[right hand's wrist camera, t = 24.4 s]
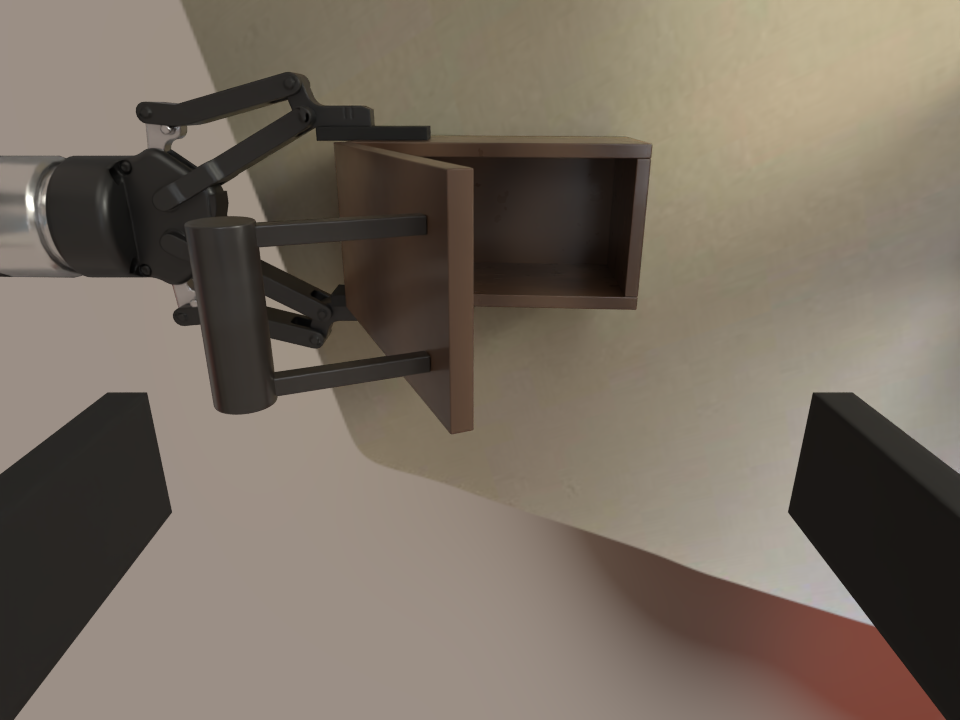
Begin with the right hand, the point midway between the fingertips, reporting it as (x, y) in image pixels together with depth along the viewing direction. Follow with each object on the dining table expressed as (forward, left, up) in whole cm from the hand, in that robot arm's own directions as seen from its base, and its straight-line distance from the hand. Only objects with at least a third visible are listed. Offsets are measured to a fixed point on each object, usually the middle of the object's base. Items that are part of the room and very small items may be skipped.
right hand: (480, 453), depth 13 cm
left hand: (+1, -3, -30) cm, 30 cm away
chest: (0, +2, -36) cm, 36 cm away
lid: (+1, -3, -18) cm, 19 cm away
